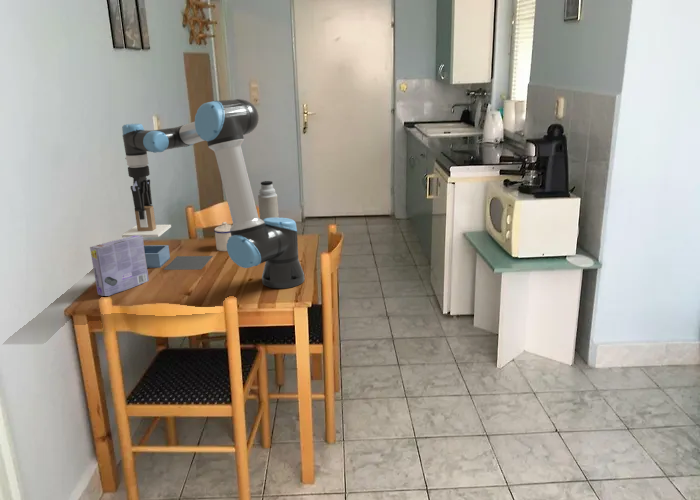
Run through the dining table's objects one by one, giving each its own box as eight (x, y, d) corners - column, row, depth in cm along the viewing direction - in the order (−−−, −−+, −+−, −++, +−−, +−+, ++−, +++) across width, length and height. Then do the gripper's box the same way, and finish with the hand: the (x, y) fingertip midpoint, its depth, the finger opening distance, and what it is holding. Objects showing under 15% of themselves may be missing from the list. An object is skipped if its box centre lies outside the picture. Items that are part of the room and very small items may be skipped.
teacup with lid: (230, 252, 238) (227, 226, 235) (211, 251, 242) (209, 224, 238) (245, 244, 249) (243, 218, 245) (227, 242, 252) (225, 217, 249)
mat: (201, 270, 219) (201, 269, 219) (163, 270, 220) (163, 269, 220) (213, 256, 234) (213, 255, 234) (177, 257, 235) (177, 256, 235)
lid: (158, 237, 217) (154, 211, 213) (122, 237, 217) (118, 211, 214) (171, 226, 230) (168, 202, 227) (137, 227, 231) (133, 203, 228)
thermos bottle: (273, 242, 252) (268, 179, 243) (284, 245, 246) (280, 181, 237) (258, 246, 246) (253, 182, 238) (269, 249, 241) (264, 184, 232)
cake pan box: (144, 278, 212) (137, 232, 207) (152, 280, 210) (145, 234, 204) (96, 295, 197) (88, 246, 192) (105, 298, 195) (96, 249, 189)
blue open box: (160, 268, 222) (158, 253, 220) (132, 268, 223) (130, 254, 221) (170, 259, 233) (168, 245, 231) (143, 259, 233) (141, 245, 231)
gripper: (137, 162, 224) (145, 220, 231) (118, 169, 208) (128, 231, 215) (155, 161, 223) (163, 219, 230) (138, 169, 207) (147, 231, 215)
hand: (146, 225), depth 223 cm, fingers closed on lid, 3 cm apart
